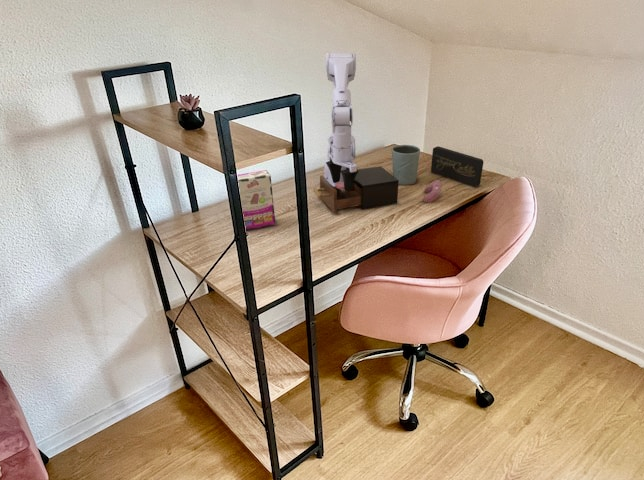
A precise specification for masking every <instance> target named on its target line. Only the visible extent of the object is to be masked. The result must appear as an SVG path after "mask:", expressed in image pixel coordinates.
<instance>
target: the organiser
mask: <svg viewBox="0 0 644 480" xmlns="http://www.w3.org/2000/svg"><path fill="white" fill-rule="evenodd" d="M357 169H358V174H357V175H356V177H355V179H354V182H353V183H356V184H357V185H358V186H359V187H360V188H361V189H362V204H361V205H359V206H358V208H360V209H361V210H368V209H374V208H380V207H386V206H391V205H397V204H398V199H399V198H398V197H399V184H398V182H399V180H398V179H396V178H395V177H394V176H393V174H392V173H390V172H389V171H388V170H386V169H385V168H384V167H382V166H380V165H379V166H373V167H372V166H371V167H366V168H357Z"/></svg>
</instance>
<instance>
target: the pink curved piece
mask: <svg viewBox="0 0 644 480" xmlns="http://www.w3.org/2000/svg"><path fill="white" fill-rule="evenodd" d="M442 185H443V182H442V181H441V180H437V179H436V180H434V181H433V182H432V183H430V184H427V185H426V186H425V187H424V189H423V192H424V193H427V194H426V195H424V196H423V197H422V201H423V203H430V202H432V201H435V199H437V198H438V197H441V195H442V189H441V188H442Z"/></svg>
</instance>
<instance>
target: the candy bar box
mask: <svg viewBox="0 0 644 480" xmlns="http://www.w3.org/2000/svg"><path fill="white" fill-rule="evenodd" d="M237 175H238V183H239V189H240V197H241V202H242V208H243V214H244V222H245V226H246V231H250V230H256V229H262V228H265V227H270V226H275V225H276V217H275V205H274V196H273V195H274V194H273V185H272V175H271V174H270V173H269V172H268V170H267V169H265V170H258V171H251V172H245V173H239V174H237Z"/></svg>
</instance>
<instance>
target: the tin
mask: <svg viewBox="0 0 644 480" xmlns="http://www.w3.org/2000/svg"><path fill="white" fill-rule="evenodd" d="M335 189H336V190H337V200H341V199H347V198H349V191H345V189H344V182H337V183H336V184H335Z"/></svg>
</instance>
